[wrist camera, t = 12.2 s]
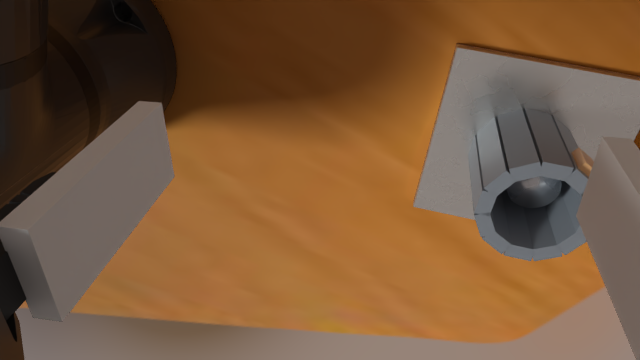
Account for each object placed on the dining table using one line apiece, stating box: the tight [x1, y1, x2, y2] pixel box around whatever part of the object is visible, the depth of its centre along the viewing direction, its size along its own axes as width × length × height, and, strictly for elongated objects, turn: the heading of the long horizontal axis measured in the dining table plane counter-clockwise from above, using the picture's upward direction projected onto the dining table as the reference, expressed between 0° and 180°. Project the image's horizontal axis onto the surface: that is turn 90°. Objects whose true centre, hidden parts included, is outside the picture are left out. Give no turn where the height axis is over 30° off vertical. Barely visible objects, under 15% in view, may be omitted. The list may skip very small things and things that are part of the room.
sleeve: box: [468, 109, 594, 261], centre depth 36 cm, size 8×8×8 cm
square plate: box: [413, 43, 640, 220], centre depth 38 cm, size 14×14×6 cm
